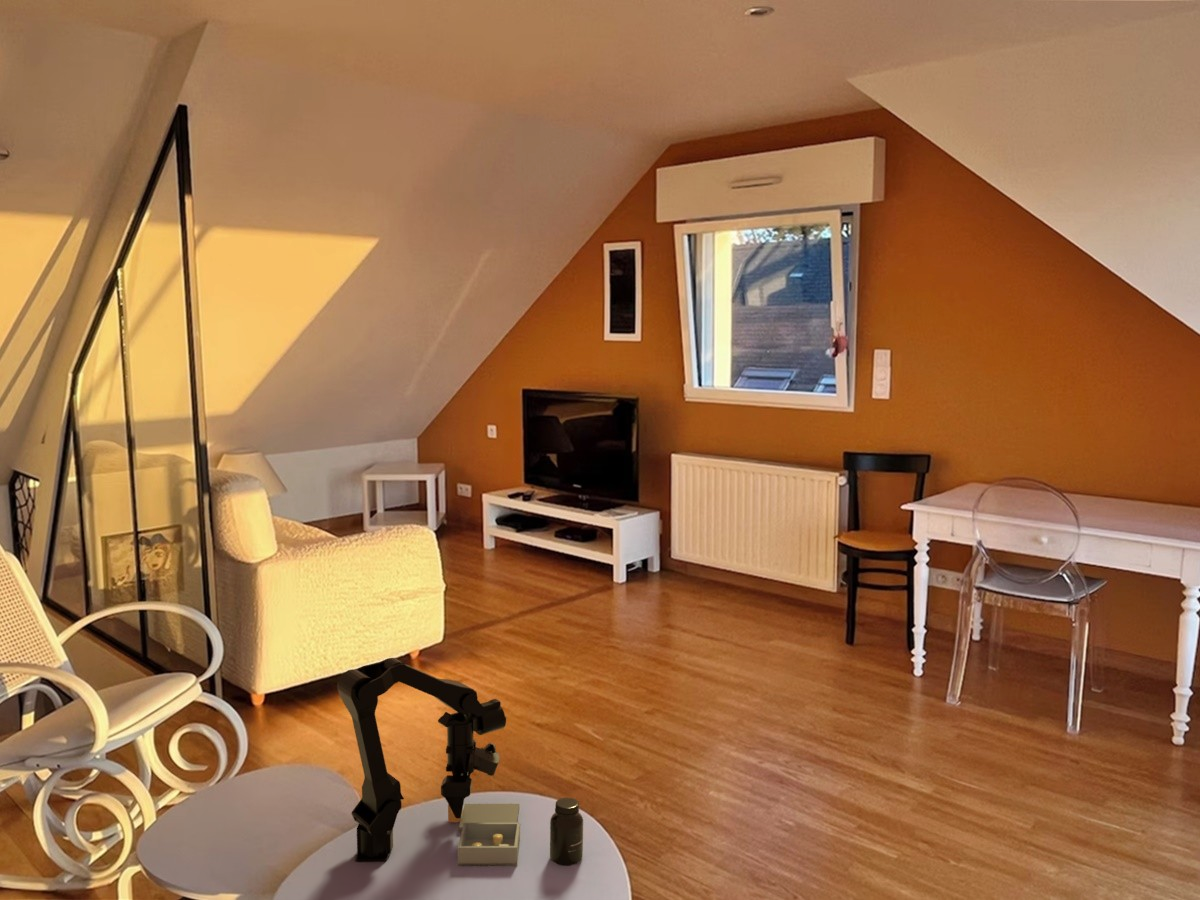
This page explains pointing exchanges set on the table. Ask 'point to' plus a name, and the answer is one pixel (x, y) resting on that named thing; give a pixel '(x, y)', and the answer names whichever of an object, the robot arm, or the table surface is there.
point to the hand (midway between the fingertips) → (460, 807)
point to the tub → (489, 844)
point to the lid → (486, 814)
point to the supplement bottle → (566, 833)
